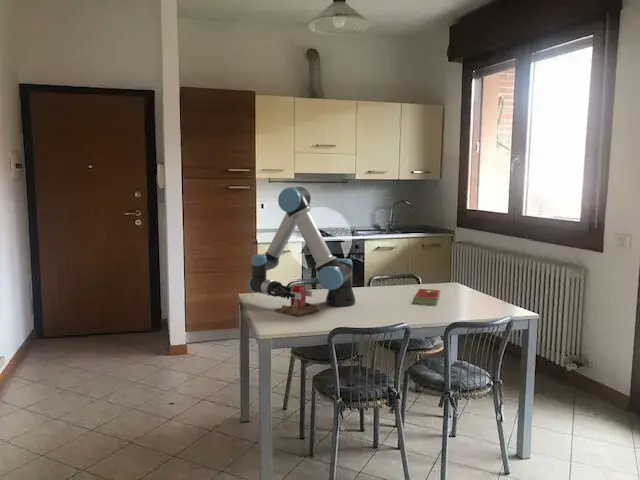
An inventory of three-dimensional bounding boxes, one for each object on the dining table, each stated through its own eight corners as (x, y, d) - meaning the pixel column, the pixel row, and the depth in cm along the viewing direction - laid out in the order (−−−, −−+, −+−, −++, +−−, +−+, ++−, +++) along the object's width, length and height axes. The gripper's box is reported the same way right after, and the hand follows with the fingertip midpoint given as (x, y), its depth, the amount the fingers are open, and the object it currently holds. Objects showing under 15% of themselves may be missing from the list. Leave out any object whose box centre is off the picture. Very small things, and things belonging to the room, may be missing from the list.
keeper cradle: (274, 311, 253) (274, 304, 252) (294, 306, 263) (294, 299, 263) (299, 317, 242) (299, 310, 242) (319, 311, 253) (319, 304, 253)
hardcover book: (413, 304, 271) (413, 296, 270) (418, 295, 291) (418, 288, 290) (437, 306, 267) (437, 298, 267) (440, 297, 287) (440, 289, 287)
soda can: (290, 307, 255) (290, 283, 254) (305, 307, 256) (305, 282, 255) (291, 310, 248) (291, 285, 247) (306, 310, 249) (306, 285, 248)
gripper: (286, 292, 271) (319, 299, 256) (257, 298, 256) (291, 307, 241) (286, 278, 270) (320, 284, 255) (257, 283, 255) (291, 290, 240)
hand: (306, 295), depth 248 cm, fingers open, 7 cm apart
